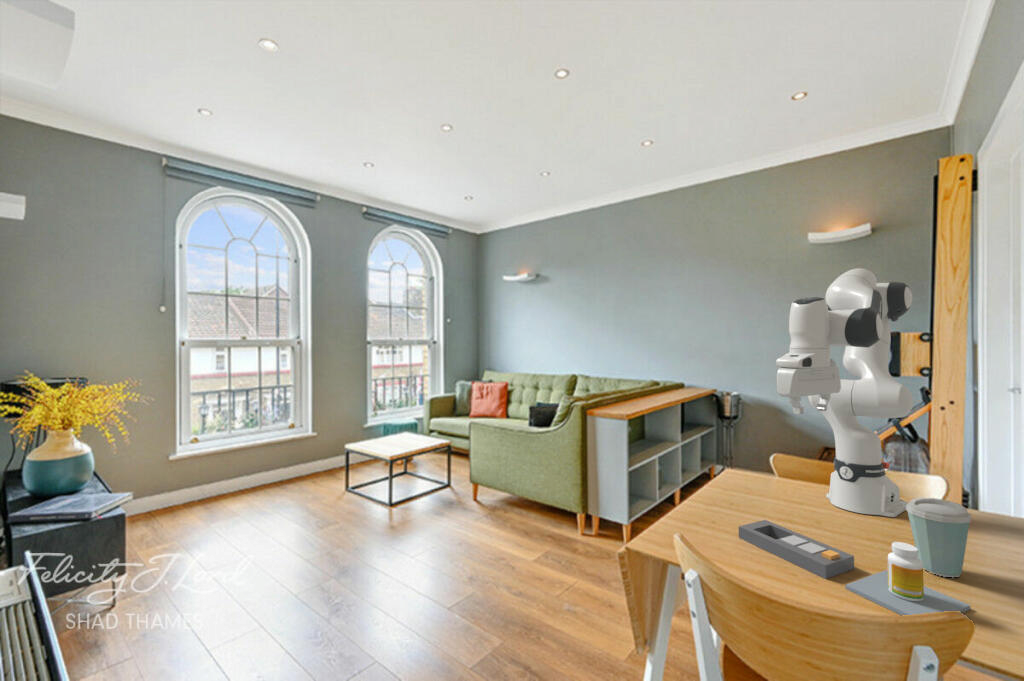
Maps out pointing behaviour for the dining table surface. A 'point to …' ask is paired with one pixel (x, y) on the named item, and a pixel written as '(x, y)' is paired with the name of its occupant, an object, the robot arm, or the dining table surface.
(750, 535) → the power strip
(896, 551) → the supplement bottle
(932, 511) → the disposable coffee cup
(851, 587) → the mat
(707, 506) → the dining table surface
